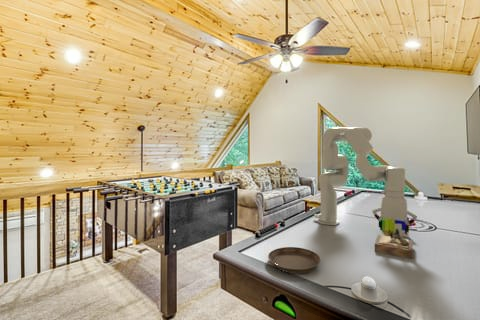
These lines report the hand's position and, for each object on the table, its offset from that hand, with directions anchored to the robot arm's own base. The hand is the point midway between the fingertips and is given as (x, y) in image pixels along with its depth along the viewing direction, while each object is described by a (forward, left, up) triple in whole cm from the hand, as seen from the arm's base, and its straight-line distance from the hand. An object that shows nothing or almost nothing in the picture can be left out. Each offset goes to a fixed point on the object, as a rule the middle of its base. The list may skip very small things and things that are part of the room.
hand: (393, 231), depth 113 cm
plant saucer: (-33, -38, -9) cm, 51 cm away
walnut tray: (0, 0, -9) cm, 9 cm away
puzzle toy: (-1, +26, -9) cm, 27 cm away
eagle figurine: (+2, -1, -5) cm, 5 cm away
